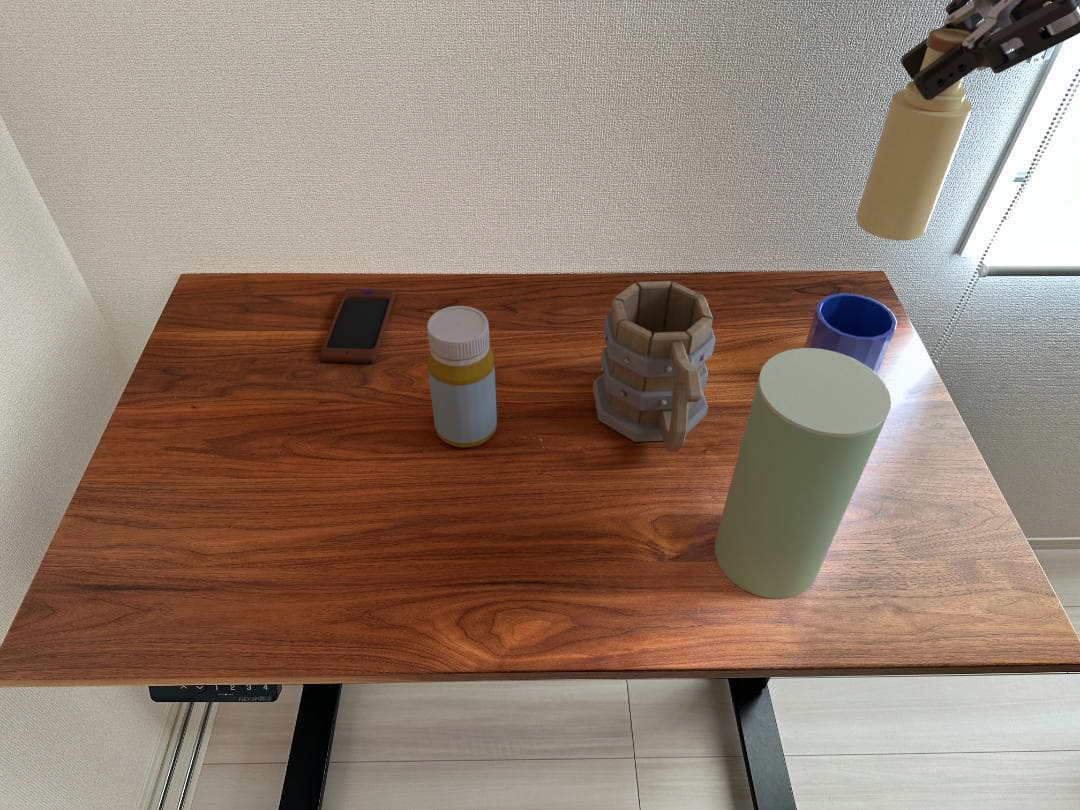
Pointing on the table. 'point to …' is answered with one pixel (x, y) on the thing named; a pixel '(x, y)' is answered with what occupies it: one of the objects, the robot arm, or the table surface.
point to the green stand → (798, 468)
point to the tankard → (655, 363)
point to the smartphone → (358, 326)
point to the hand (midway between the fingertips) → (913, 79)
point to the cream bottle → (914, 152)
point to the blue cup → (853, 328)
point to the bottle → (461, 376)
